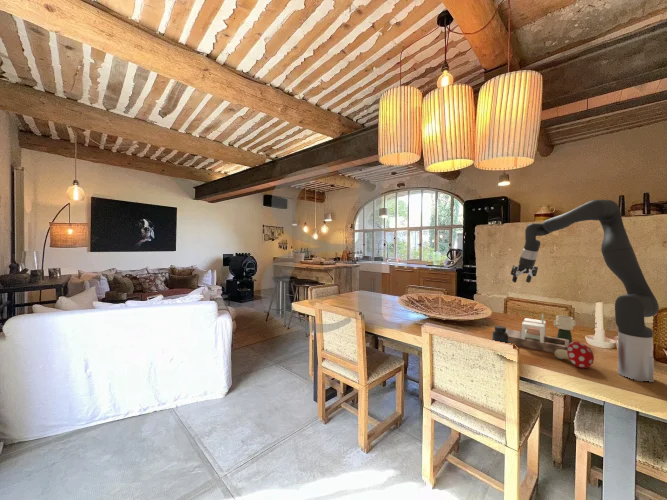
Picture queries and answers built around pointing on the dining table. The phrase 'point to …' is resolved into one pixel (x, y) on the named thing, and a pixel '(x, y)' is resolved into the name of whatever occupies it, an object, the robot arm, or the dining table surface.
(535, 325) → the tunnel
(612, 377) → the dining table surface
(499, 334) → the supplement bottle
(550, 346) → the track
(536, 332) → the block
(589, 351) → the decorative mushroom
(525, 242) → the robot arm
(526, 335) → the sled
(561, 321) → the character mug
